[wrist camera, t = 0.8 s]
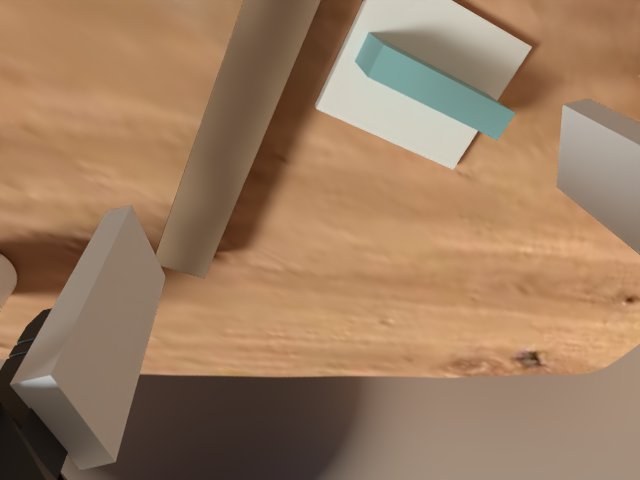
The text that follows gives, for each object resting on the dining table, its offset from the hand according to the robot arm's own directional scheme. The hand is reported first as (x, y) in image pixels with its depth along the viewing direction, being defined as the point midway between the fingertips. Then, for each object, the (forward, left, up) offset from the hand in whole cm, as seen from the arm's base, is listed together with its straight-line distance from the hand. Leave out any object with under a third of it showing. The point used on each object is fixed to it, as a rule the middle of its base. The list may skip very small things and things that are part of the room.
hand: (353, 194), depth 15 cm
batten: (-3, -7, -22) cm, 23 cm away
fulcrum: (+8, +2, -22) cm, 23 cm away
